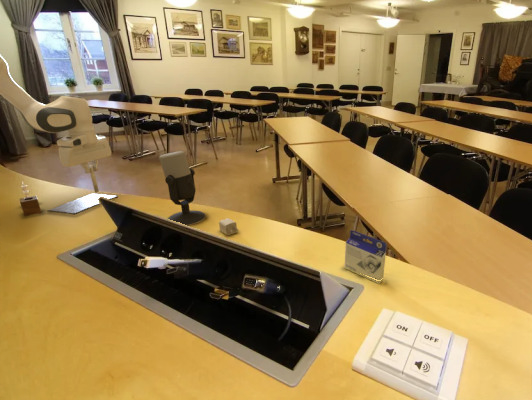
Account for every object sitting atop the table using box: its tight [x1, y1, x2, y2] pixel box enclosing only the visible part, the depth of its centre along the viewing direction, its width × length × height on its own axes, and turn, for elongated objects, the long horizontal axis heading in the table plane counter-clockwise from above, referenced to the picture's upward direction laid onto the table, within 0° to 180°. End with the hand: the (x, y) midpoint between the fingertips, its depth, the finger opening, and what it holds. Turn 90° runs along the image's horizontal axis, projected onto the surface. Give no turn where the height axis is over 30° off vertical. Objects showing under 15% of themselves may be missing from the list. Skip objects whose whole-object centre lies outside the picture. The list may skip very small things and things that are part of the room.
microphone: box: [158, 150, 206, 227], centre depth 114 cm, size 13×13×25 cm
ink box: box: [343, 229, 388, 285], centre depth 85 cm, size 12×2×12 cm, turn 50°
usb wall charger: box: [218, 217, 239, 236], centre depth 107 cm, size 4×7×4 cm, turn 44°
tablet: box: [47, 193, 118, 216], centre depth 129 cm, size 13×20×1 cm, turn 168°
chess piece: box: [20, 180, 31, 198], centre depth 126 cm, size 5×5×10 cm
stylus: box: [88, 164, 100, 194], centre depth 132 cm, size 1×1×12 cm
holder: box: [19, 195, 42, 217], centre depth 119 cm, size 5×5×6 cm
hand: (91, 171), depth 131 cm, fingers closed on stylus, 1 cm apart
